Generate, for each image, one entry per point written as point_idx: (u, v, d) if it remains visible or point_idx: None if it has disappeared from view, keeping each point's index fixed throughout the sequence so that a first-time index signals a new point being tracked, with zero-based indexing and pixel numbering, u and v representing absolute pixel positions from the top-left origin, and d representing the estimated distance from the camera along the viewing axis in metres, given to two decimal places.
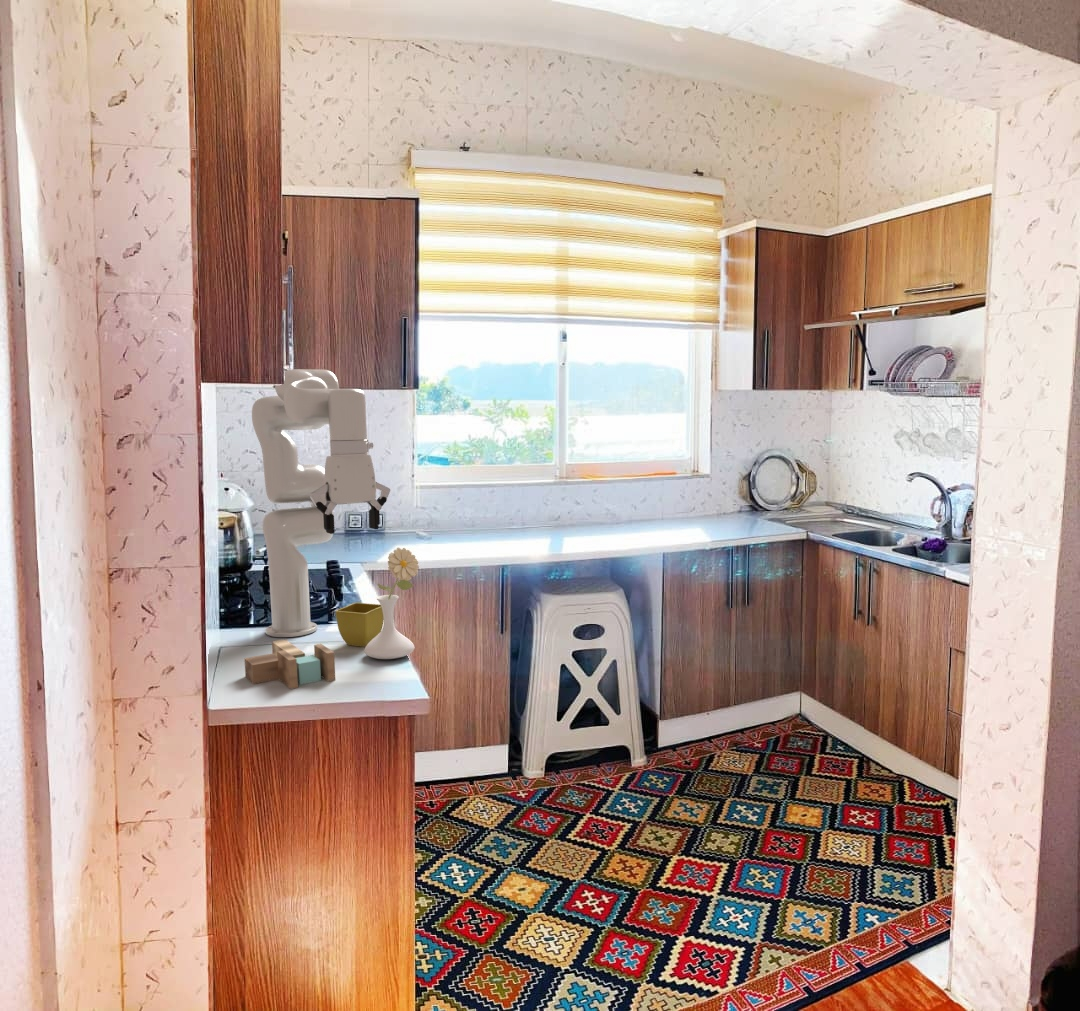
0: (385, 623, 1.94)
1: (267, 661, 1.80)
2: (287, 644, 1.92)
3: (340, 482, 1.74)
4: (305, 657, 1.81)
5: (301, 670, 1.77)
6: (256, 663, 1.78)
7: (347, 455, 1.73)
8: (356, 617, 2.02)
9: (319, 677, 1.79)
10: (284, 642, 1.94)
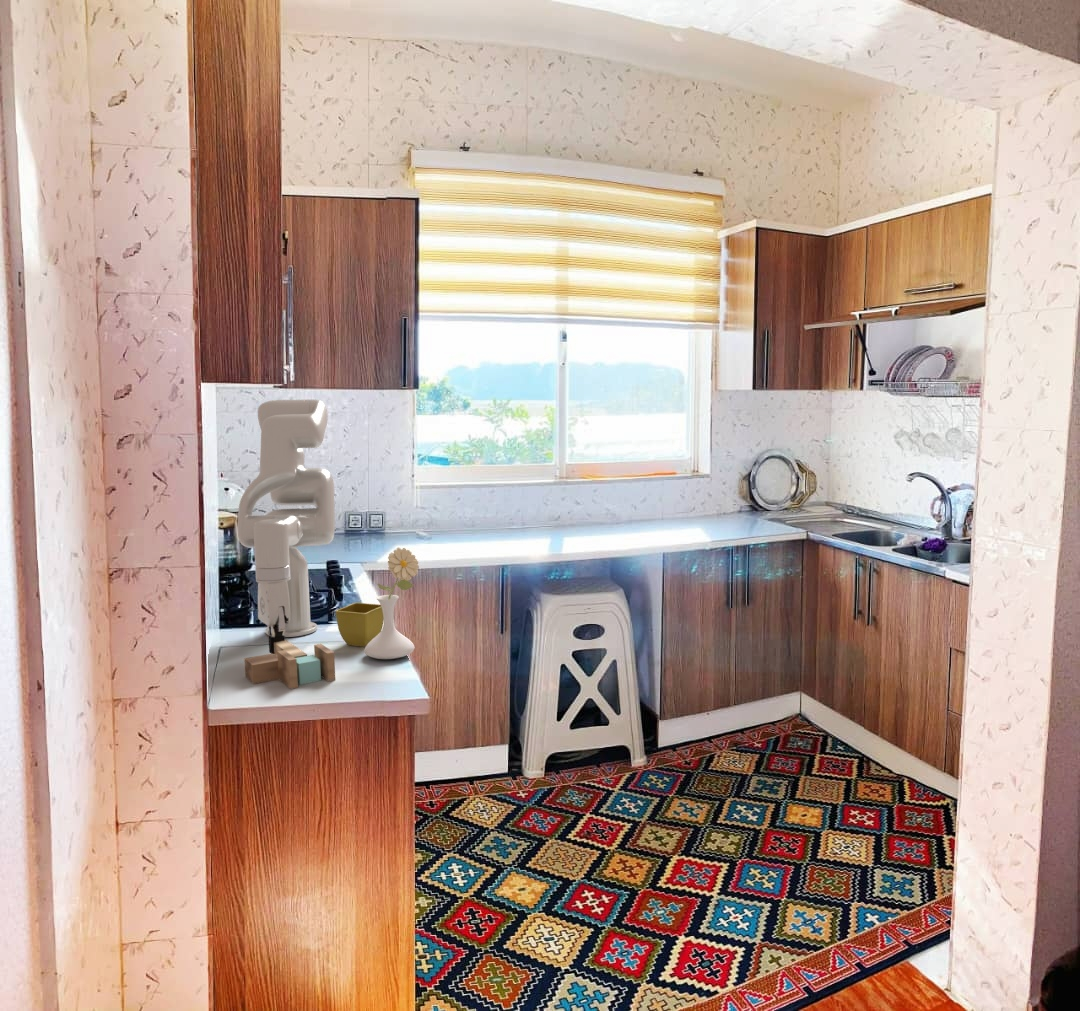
0: (385, 623, 1.94)
1: (267, 661, 1.80)
2: (289, 645, 1.91)
3: None
4: (305, 657, 1.81)
5: (301, 670, 1.77)
6: (256, 663, 1.78)
7: (290, 578, 1.95)
8: (356, 617, 2.02)
9: (319, 677, 1.79)
10: (286, 643, 1.93)
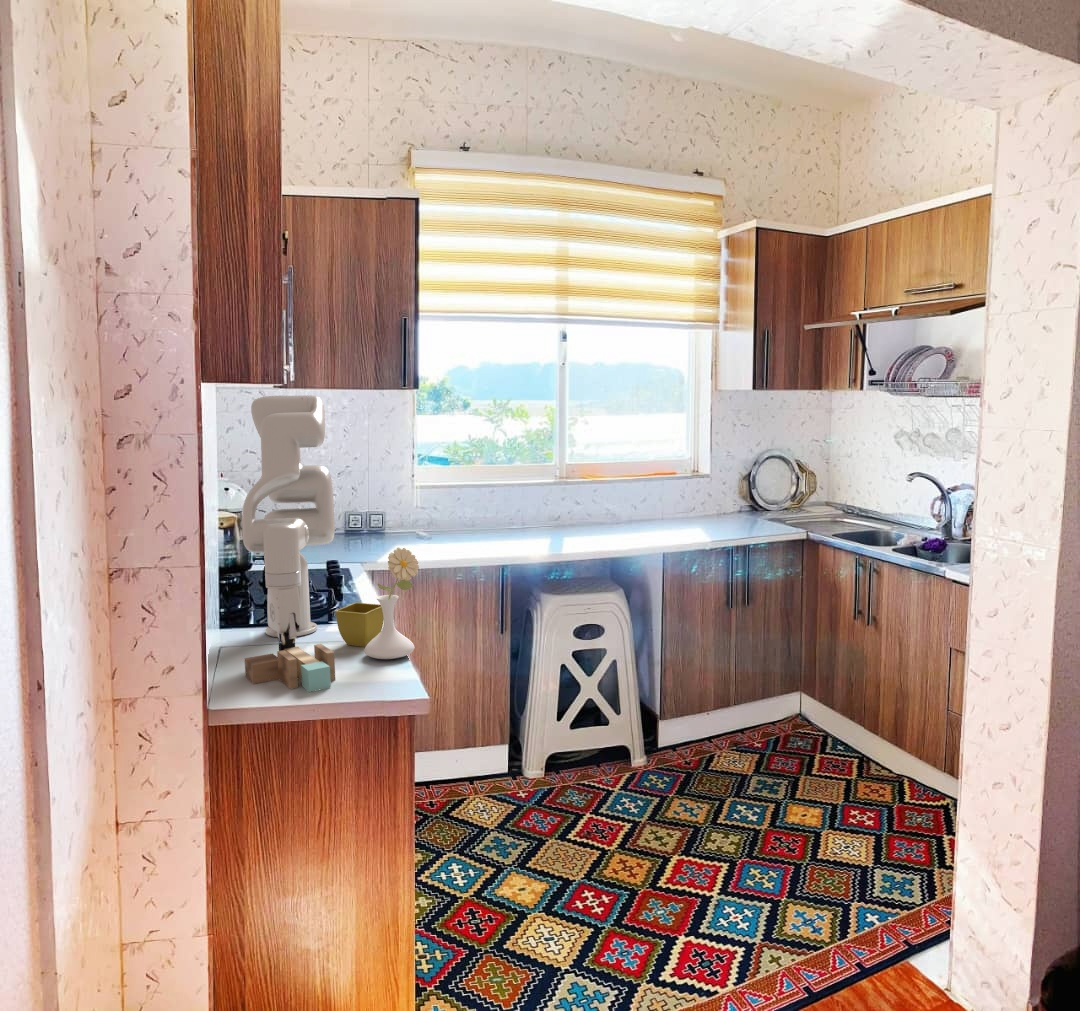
0: (385, 623, 1.94)
1: (267, 661, 1.80)
2: (300, 652, 1.85)
3: None
4: (315, 663, 1.76)
5: (311, 677, 1.72)
6: (256, 663, 1.78)
7: (301, 583, 1.89)
8: (356, 617, 2.02)
9: (329, 684, 1.74)
10: (297, 649, 1.87)
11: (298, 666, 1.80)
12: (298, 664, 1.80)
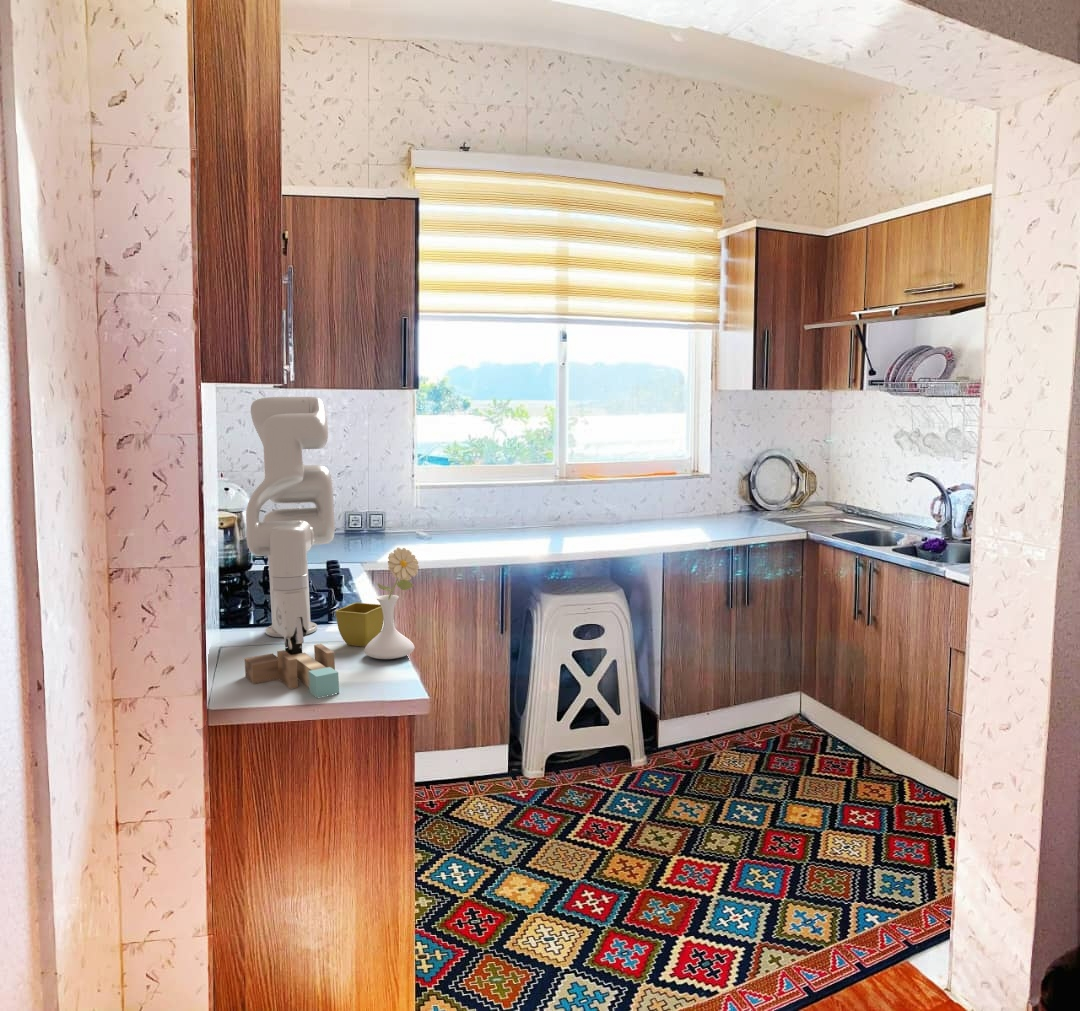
0: (385, 623, 1.94)
1: (267, 661, 1.80)
2: (308, 658, 1.81)
3: None
4: (323, 669, 1.72)
5: (319, 683, 1.68)
6: (256, 663, 1.78)
7: (308, 587, 1.85)
8: (356, 617, 2.02)
9: (337, 690, 1.71)
10: (304, 656, 1.83)
11: (305, 673, 1.76)
12: (305, 671, 1.76)
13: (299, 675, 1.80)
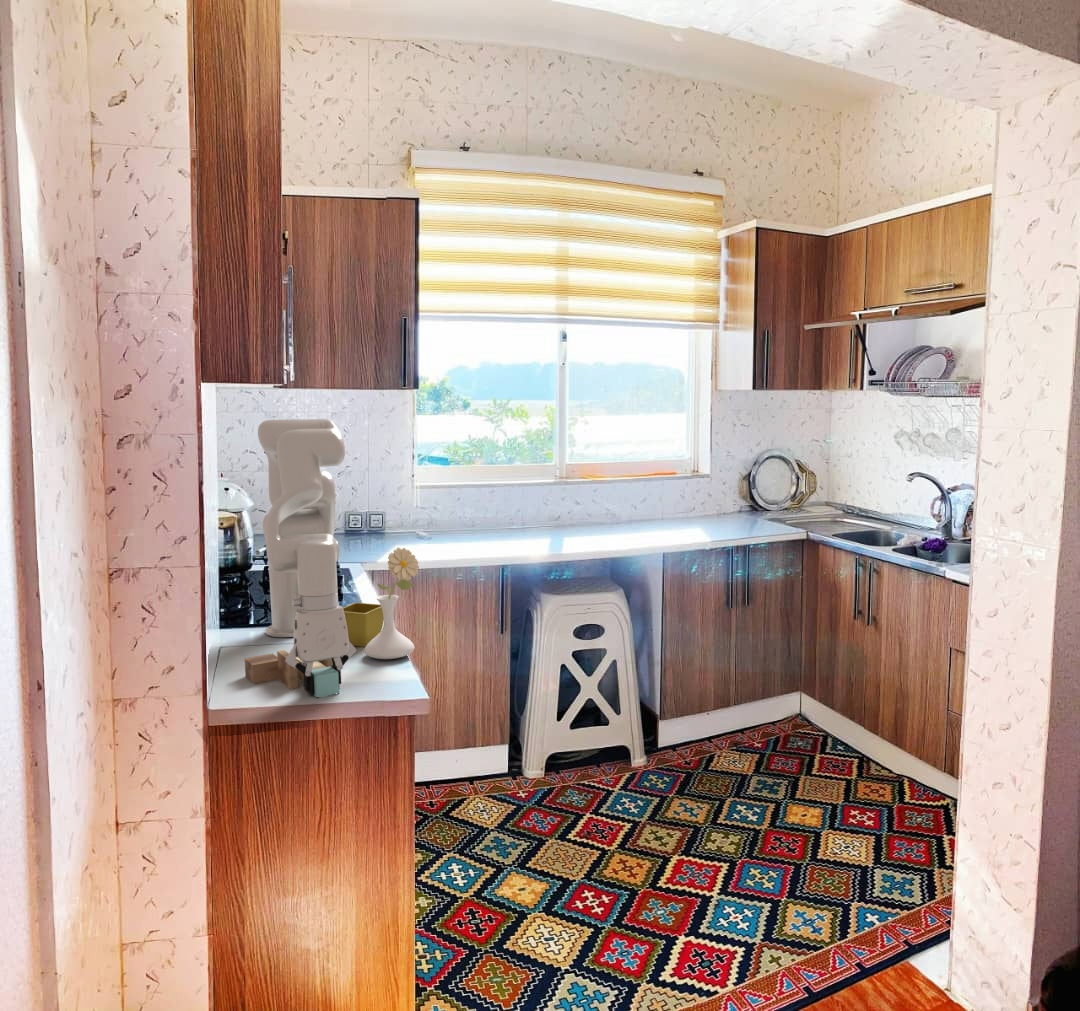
0: (385, 623, 1.94)
1: (267, 661, 1.80)
2: None
3: None
4: (323, 669, 1.72)
5: (319, 683, 1.68)
6: (256, 663, 1.78)
7: None
8: (356, 617, 2.02)
9: (337, 690, 1.71)
10: None
11: None
12: None
13: (299, 675, 1.80)
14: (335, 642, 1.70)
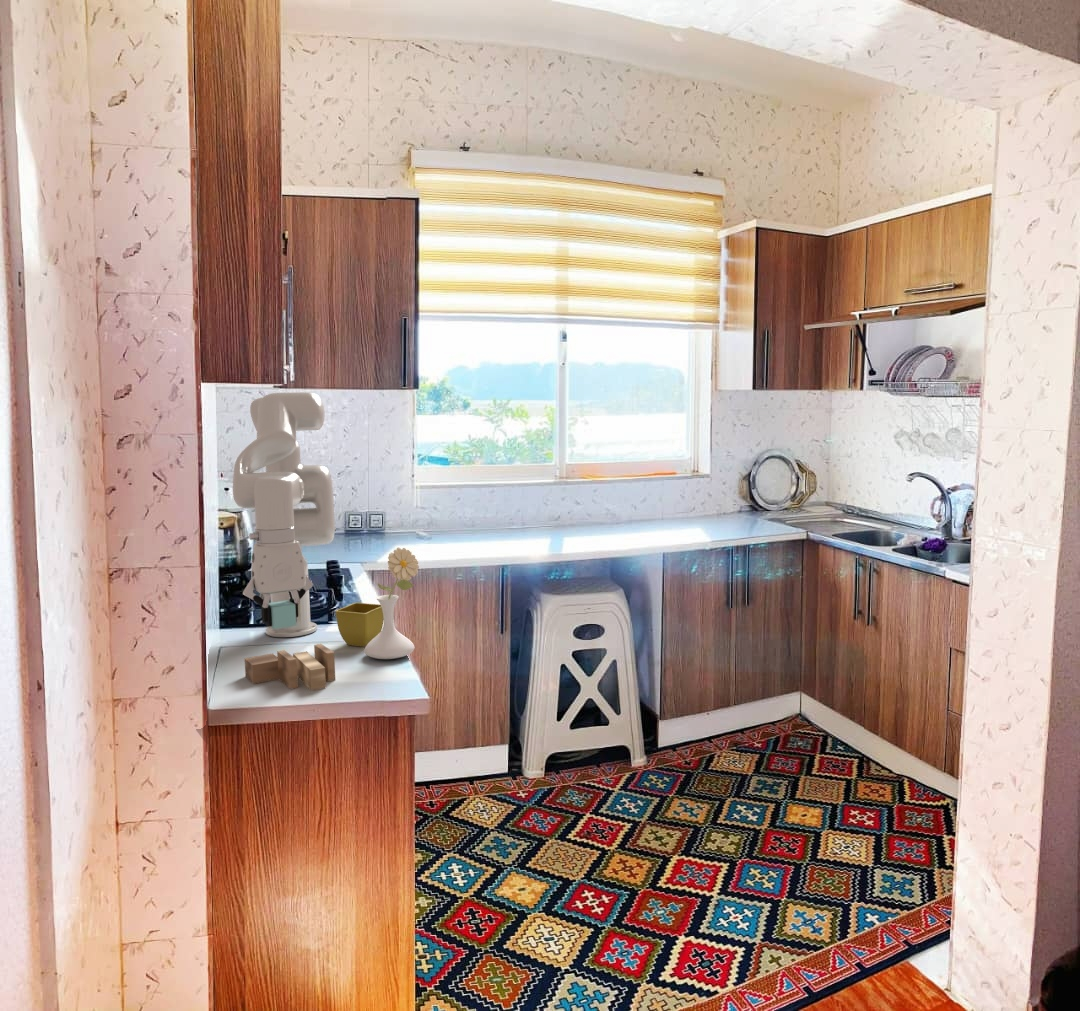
0: (385, 623, 1.94)
1: (267, 661, 1.80)
2: (308, 657, 1.82)
3: None
4: (280, 602, 1.78)
5: (276, 614, 1.74)
6: (256, 663, 1.78)
7: None
8: (356, 617, 2.02)
9: (294, 622, 1.76)
10: (305, 654, 1.83)
11: (304, 672, 1.77)
12: (304, 670, 1.77)
13: (300, 674, 1.80)
14: (292, 575, 1.75)
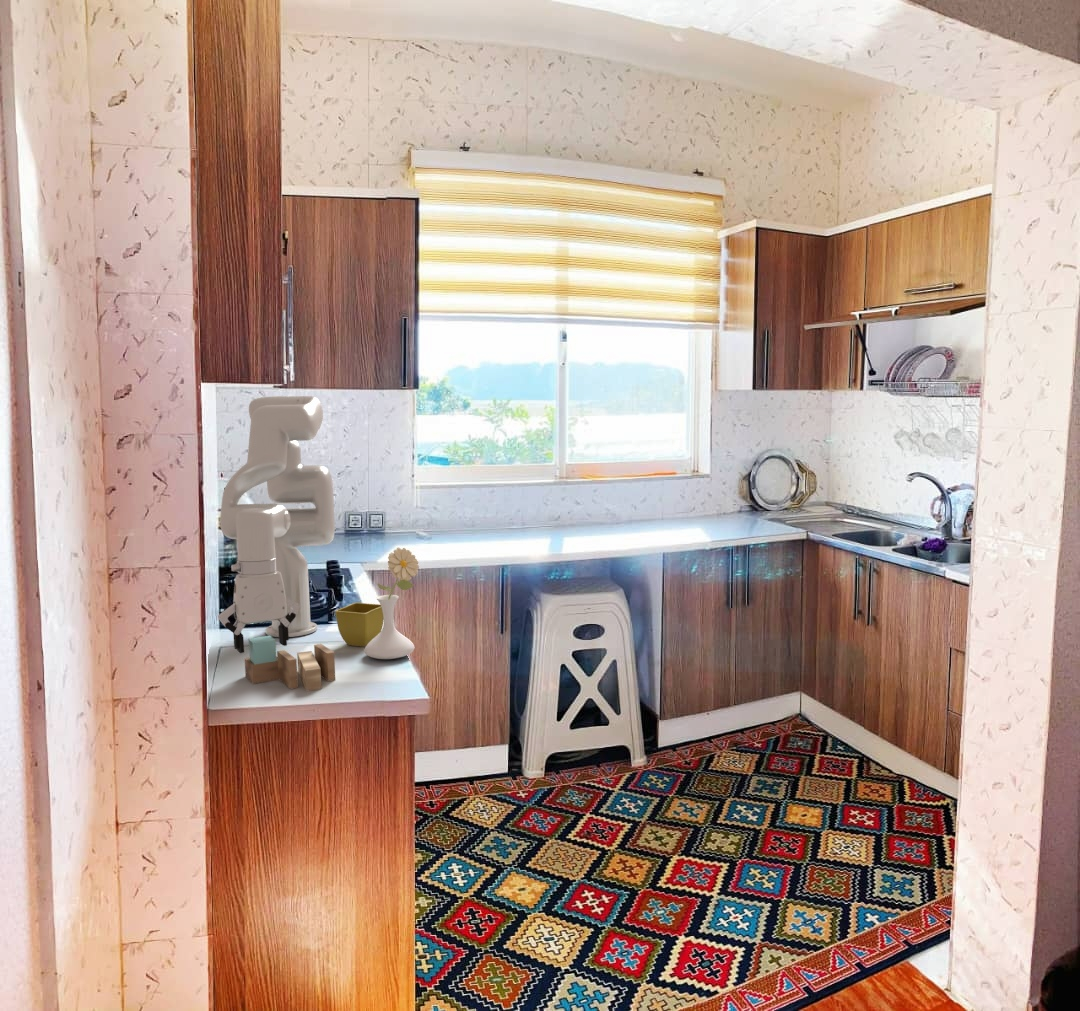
0: (385, 623, 1.94)
1: None
2: (310, 657, 1.82)
3: None
4: (262, 637, 1.82)
5: (256, 650, 1.78)
6: None
7: None
8: (356, 617, 2.02)
9: (274, 657, 1.80)
10: (308, 654, 1.84)
11: (302, 672, 1.77)
12: (302, 670, 1.77)
13: (300, 674, 1.81)
14: (273, 605, 1.79)
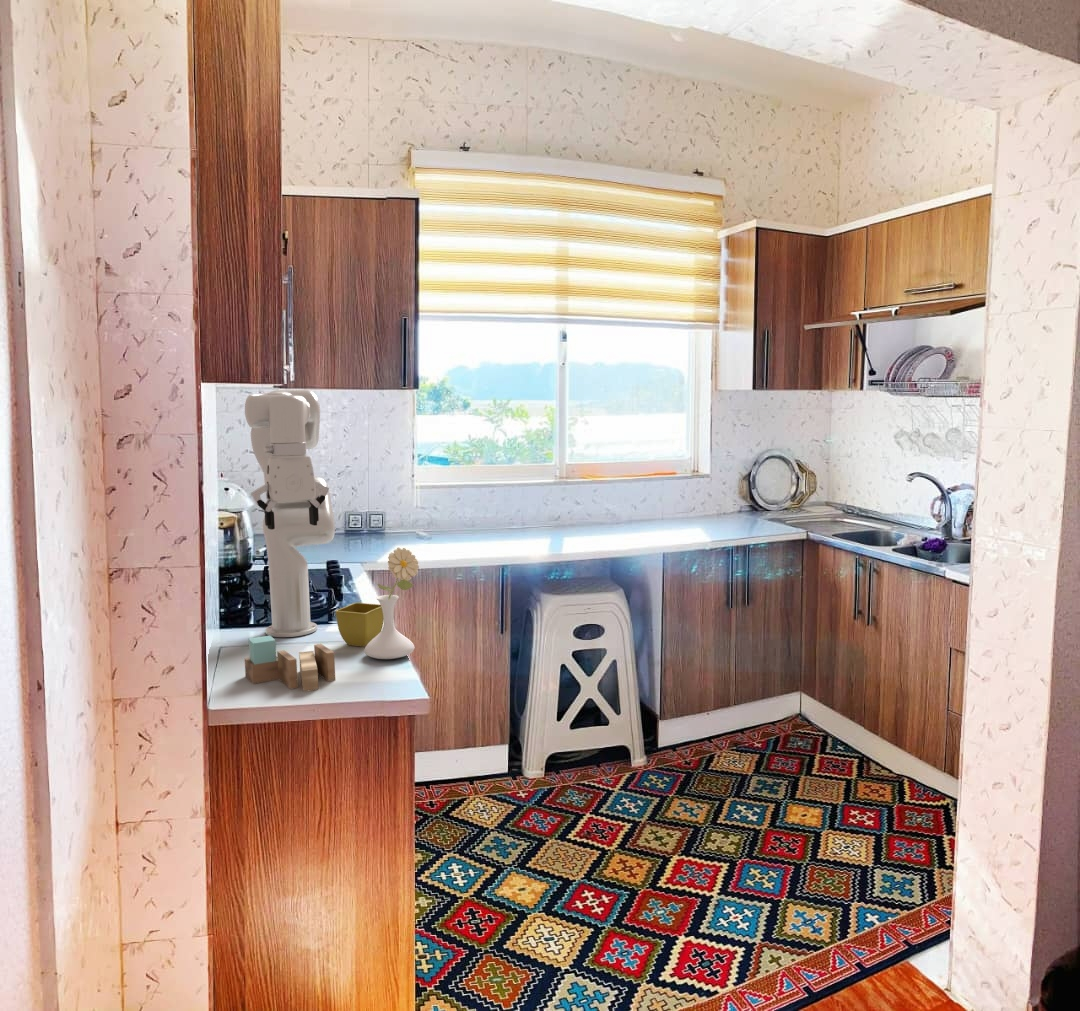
0: (385, 623, 1.94)
1: None
2: (310, 657, 1.82)
3: None
4: (262, 637, 1.82)
5: (256, 650, 1.78)
6: None
7: None
8: (356, 617, 2.02)
9: (274, 657, 1.80)
10: (309, 654, 1.84)
11: (301, 672, 1.77)
12: (301, 670, 1.77)
13: None
14: (303, 487, 1.91)
